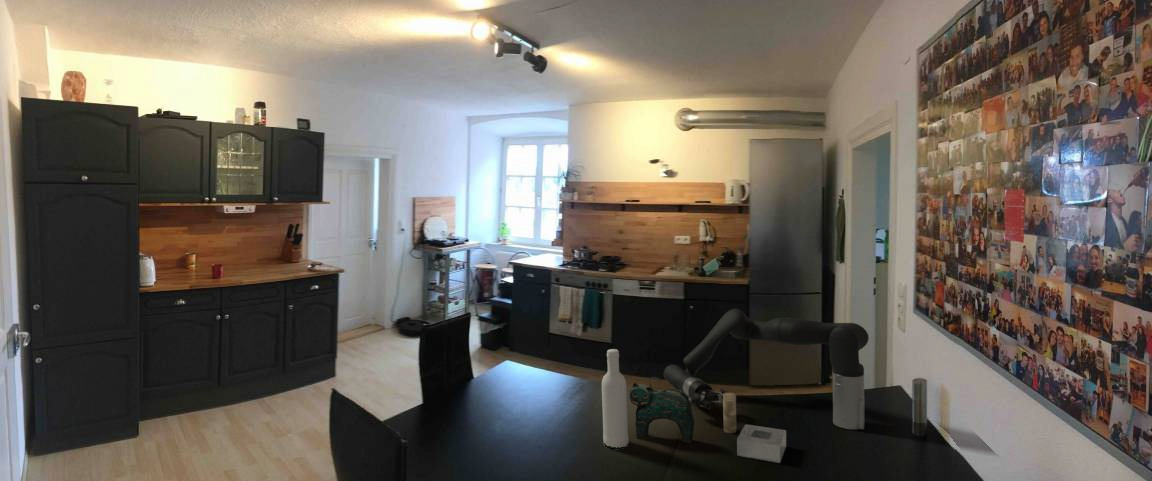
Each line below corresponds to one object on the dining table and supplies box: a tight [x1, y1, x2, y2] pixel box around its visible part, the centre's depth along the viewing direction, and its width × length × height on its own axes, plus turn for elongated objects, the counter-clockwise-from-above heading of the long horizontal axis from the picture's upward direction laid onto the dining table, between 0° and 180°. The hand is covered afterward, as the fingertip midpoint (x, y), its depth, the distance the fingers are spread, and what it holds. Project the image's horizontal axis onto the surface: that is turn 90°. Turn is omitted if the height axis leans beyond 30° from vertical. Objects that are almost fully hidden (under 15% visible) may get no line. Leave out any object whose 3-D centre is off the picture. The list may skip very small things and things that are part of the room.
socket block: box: [736, 424, 787, 464], centre depth 167 cm, size 12×12×5 cm
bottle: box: [601, 348, 629, 448], centre depth 175 cm, size 8×8×30 cm
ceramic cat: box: [629, 376, 695, 444], centre depth 178 cm, size 20×6×20 cm, turn 70°
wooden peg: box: [722, 392, 737, 434], centre depth 182 cm, size 4×4×12 cm
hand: (721, 404), depth 187 cm, fingers open, 8 cm apart
